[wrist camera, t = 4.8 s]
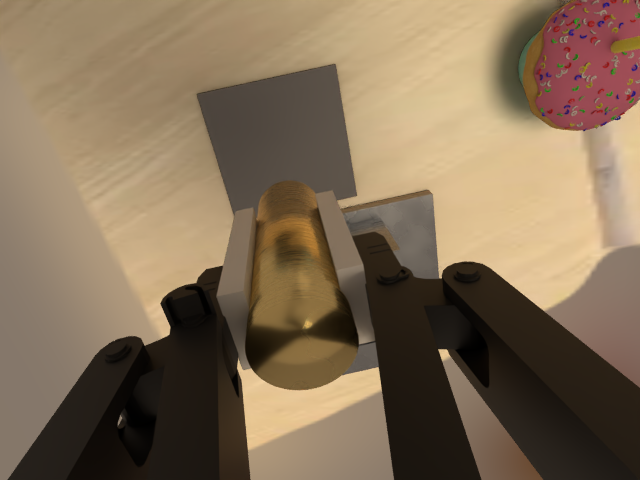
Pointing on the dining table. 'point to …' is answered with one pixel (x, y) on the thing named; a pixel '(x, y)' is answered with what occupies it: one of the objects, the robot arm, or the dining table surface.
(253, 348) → the peg
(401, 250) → the bracket
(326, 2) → the dining table surface
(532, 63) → the cupcake
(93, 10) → the dining table surface
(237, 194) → the mat
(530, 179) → the dining table surface
